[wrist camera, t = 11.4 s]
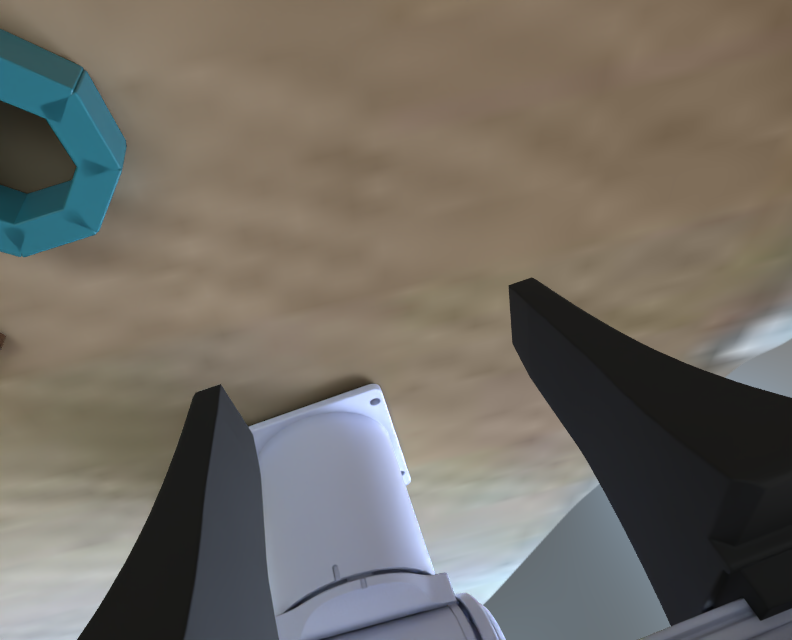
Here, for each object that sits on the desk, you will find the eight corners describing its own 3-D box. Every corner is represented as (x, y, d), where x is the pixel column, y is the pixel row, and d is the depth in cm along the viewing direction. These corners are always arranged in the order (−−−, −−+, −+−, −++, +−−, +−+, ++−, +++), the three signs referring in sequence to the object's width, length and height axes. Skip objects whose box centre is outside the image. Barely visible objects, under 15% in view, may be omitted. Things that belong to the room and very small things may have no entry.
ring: (153, 188, 19) (150, 217, 17) (-15, 241, 18) (-33, 275, 17) (49, 4, 15) (35, 22, 14) (-167, 66, 15) (-205, 91, 13)
